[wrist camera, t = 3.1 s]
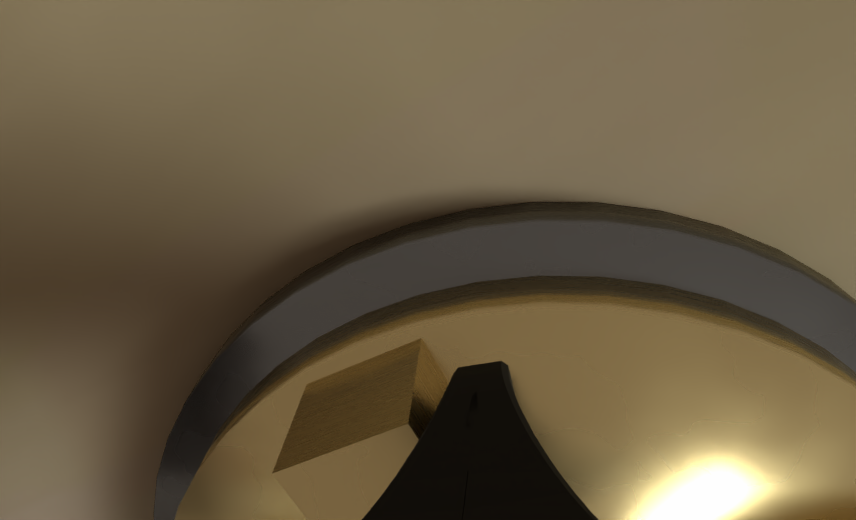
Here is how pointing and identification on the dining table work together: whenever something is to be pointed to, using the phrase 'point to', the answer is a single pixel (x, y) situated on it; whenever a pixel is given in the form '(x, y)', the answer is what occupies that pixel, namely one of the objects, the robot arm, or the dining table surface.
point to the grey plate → (492, 260)
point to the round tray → (553, 405)
